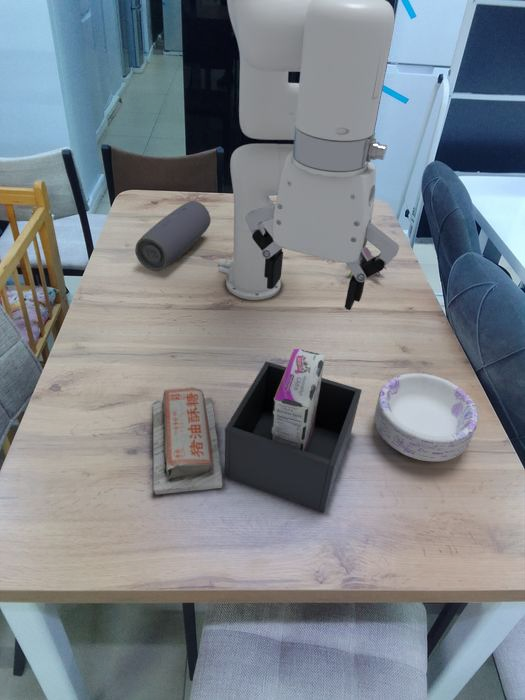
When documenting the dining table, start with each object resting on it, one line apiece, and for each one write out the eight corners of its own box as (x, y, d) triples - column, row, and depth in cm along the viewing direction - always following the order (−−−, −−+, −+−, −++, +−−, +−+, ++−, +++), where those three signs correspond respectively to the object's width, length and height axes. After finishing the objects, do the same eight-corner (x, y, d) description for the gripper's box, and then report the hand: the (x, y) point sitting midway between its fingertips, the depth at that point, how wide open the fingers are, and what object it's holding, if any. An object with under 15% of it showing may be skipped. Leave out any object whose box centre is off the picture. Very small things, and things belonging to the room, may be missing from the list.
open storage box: (224, 476, 76) (224, 428, 69) (262, 407, 87) (266, 360, 80) (324, 512, 72) (334, 466, 65) (350, 435, 83) (361, 389, 76)
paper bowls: (364, 401, 89) (373, 368, 84) (450, 406, 90) (463, 373, 84) (377, 472, 78) (388, 438, 73) (475, 477, 78) (493, 444, 73)
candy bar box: (284, 422, 84) (293, 346, 73) (314, 430, 83) (327, 353, 72) (265, 475, 75) (272, 397, 65) (298, 484, 74) (310, 407, 64)
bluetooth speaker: (181, 231, 136) (179, 195, 129) (212, 238, 133) (212, 202, 127) (135, 270, 119) (130, 231, 113) (170, 280, 117) (167, 240, 110)
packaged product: (150, 386, 83) (211, 381, 84) (153, 406, 86) (211, 402, 87) (150, 476, 69) (223, 469, 71) (153, 497, 72) (223, 489, 74)
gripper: (425, 152, 50) (388, 295, 61) (263, 123, 54) (256, 261, 65) (414, 178, 45) (375, 330, 56) (235, 144, 49) (232, 291, 60)
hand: (311, 293), depth 61 cm, fingers open, 9 cm apart
